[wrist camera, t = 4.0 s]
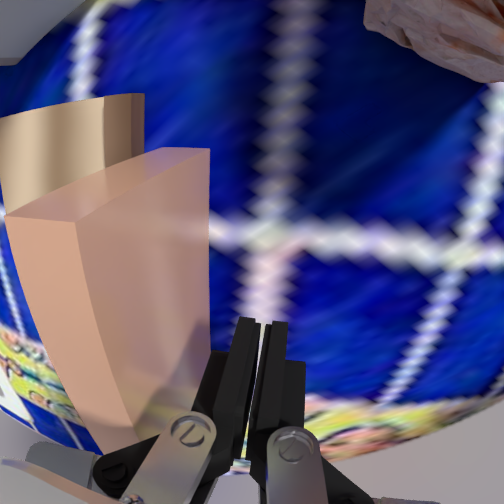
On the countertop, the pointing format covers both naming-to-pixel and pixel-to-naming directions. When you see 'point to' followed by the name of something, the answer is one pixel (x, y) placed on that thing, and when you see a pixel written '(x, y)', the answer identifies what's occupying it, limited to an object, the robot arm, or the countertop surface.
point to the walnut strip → (123, 127)
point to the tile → (122, 289)
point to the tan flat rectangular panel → (49, 149)
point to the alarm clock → (28, 24)
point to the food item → (446, 32)
